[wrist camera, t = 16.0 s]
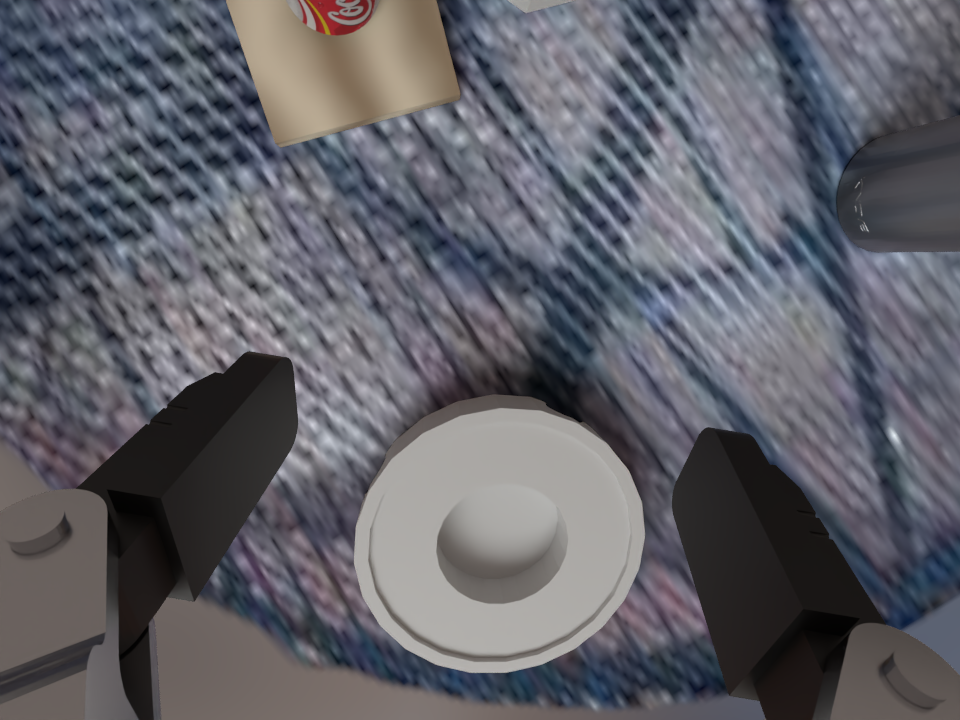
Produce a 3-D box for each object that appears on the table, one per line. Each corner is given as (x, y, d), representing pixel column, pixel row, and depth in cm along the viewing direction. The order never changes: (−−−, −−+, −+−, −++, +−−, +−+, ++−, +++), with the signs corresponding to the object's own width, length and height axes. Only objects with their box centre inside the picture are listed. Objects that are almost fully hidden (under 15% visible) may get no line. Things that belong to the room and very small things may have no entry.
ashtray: (319, 444, 39) (307, 465, 35) (590, 356, 40) (608, 367, 36) (411, 670, 44) (410, 710, 40) (649, 588, 45) (670, 619, 41)
